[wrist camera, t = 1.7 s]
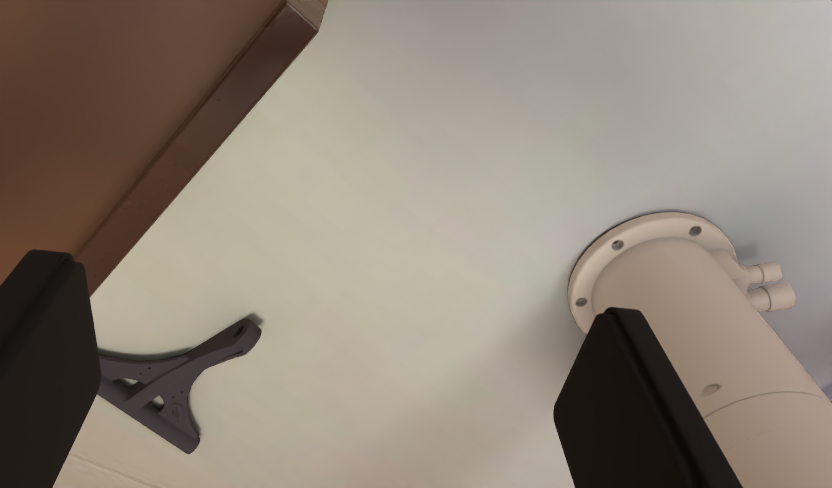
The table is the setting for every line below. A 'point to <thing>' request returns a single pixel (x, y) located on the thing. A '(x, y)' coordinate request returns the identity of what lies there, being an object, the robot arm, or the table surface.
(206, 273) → the table surface
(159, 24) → the shelf
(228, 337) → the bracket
